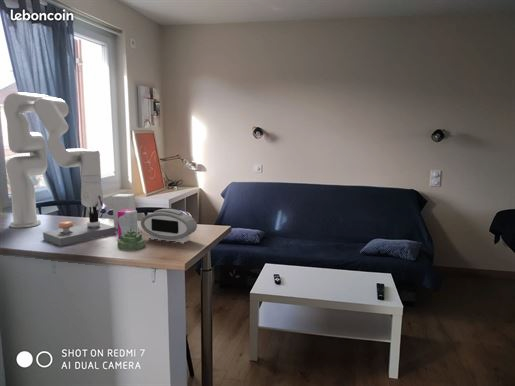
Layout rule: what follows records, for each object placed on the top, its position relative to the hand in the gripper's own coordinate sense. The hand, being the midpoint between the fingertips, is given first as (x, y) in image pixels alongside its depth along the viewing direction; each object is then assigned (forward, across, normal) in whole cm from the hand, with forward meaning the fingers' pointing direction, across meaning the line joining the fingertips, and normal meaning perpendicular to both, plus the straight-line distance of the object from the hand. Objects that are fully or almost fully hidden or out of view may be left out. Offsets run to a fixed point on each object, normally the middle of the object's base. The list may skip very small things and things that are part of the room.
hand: (94, 221), depth 176 cm
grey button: (+5, 0, 0) cm, 5 cm away
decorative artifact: (+6, +27, 0) cm, 28 cm away
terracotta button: (+3, 0, -12) cm, 12 cm away
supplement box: (+6, +16, +6) cm, 18 cm away
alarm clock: (+6, +31, +15) cm, 35 cm away
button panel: (+5, 0, -6) cm, 8 cm away
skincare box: (+6, +2, +14) cm, 15 cm away
